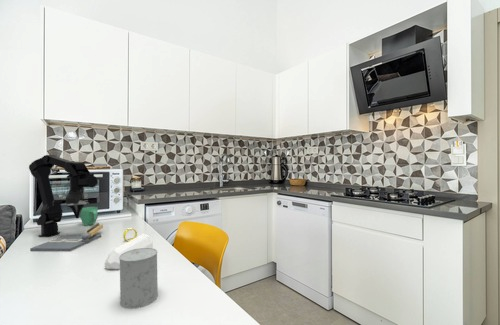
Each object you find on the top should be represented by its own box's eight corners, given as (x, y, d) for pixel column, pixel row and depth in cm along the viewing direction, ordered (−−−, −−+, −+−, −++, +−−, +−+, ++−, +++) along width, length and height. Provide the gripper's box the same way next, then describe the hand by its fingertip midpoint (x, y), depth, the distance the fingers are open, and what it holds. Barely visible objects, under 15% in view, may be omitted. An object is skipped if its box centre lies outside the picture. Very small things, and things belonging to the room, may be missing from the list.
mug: (76, 225, 150) (75, 208, 150) (93, 222, 158) (93, 206, 158) (87, 228, 142) (86, 211, 142) (105, 225, 150) (104, 208, 150)
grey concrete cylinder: (162, 288, 74) (161, 247, 74) (150, 308, 64) (150, 260, 64) (129, 290, 73) (129, 248, 73) (113, 309, 64) (112, 261, 64)
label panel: (30, 251, 107) (30, 245, 107) (66, 236, 127) (66, 232, 127) (72, 251, 106) (72, 245, 106) (102, 237, 126) (102, 232, 126)
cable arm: (95, 228, 133) (95, 222, 133) (102, 228, 134) (102, 222, 134) (80, 239, 114) (80, 232, 114) (88, 238, 115) (88, 232, 115)
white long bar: (125, 261, 85) (159, 239, 109) (108, 250, 86) (145, 230, 110) (115, 279, 86) (151, 253, 110) (98, 268, 86) (137, 245, 110)
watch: (125, 243, 117) (124, 230, 117) (123, 241, 119) (121, 229, 119) (138, 239, 122) (137, 227, 121) (135, 237, 123) (134, 226, 123)
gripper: (47, 189, 115) (47, 223, 115) (93, 187, 121) (94, 220, 121) (57, 187, 125) (57, 218, 125) (99, 185, 131) (100, 215, 131)
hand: (77, 218), depth 125 cm, fingers closed
